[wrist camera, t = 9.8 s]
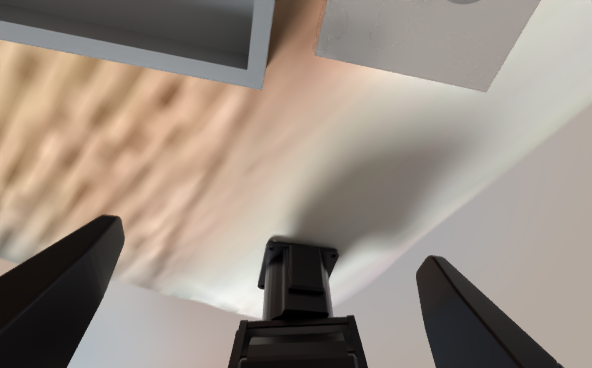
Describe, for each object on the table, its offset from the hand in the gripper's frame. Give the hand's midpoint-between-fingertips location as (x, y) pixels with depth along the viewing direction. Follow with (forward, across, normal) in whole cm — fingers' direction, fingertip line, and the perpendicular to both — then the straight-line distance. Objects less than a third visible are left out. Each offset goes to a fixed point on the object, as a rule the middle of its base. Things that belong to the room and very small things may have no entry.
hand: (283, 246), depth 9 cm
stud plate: (+12, -6, -8) cm, 16 cm away
